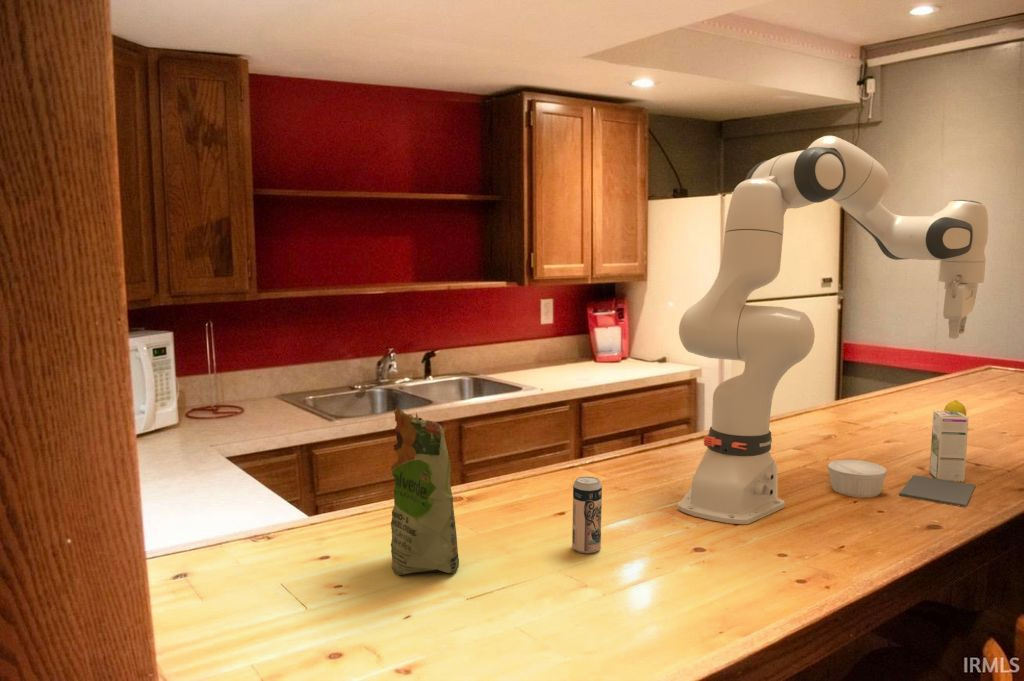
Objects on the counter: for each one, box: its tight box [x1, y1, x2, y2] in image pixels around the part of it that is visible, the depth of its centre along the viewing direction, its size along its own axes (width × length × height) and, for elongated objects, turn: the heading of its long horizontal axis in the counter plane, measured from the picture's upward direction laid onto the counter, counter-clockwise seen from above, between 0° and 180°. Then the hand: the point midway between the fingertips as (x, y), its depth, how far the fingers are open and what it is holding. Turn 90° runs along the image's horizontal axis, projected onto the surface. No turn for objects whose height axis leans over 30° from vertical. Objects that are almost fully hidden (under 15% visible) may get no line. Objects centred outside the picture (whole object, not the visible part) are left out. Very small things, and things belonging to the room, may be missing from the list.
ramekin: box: [827, 459, 888, 498], centre depth 166 cm, size 11×11×5 cm
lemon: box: [943, 399, 967, 416], centre depth 222 cm, size 6×6×8 cm
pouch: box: [390, 407, 460, 576], centre depth 124 cm, size 11×12×25 cm
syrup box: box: [929, 410, 969, 483], centre depth 175 cm, size 6×6×14 cm
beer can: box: [571, 475, 603, 555], centre depth 133 cm, size 5×5×12 cm
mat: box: [898, 474, 976, 507], centre depth 167 cm, size 16×12×1 cm
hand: (956, 335), depth 180 cm, fingers open, 8 cm apart
